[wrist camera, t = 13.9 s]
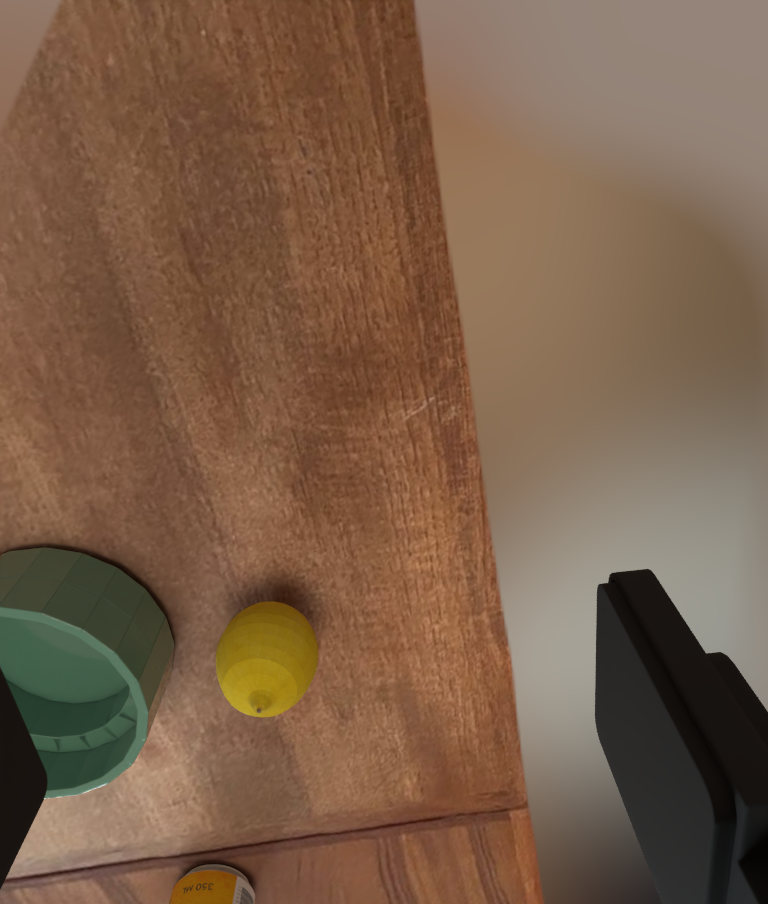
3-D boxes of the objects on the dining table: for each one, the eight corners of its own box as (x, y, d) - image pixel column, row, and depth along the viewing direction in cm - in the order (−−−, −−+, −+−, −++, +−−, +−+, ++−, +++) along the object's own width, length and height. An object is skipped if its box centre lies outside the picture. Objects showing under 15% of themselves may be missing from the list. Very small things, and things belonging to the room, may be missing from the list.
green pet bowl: (-83, 556, 40) (-154, 623, 35) (144, 531, 40) (108, 594, 34) (-3, 728, 45) (-54, 809, 40) (197, 707, 45) (173, 785, 40)
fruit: (252, 559, 41) (226, 652, 33) (338, 596, 42) (331, 692, 34) (215, 628, 43) (184, 730, 35) (298, 661, 44) (284, 766, 36)
